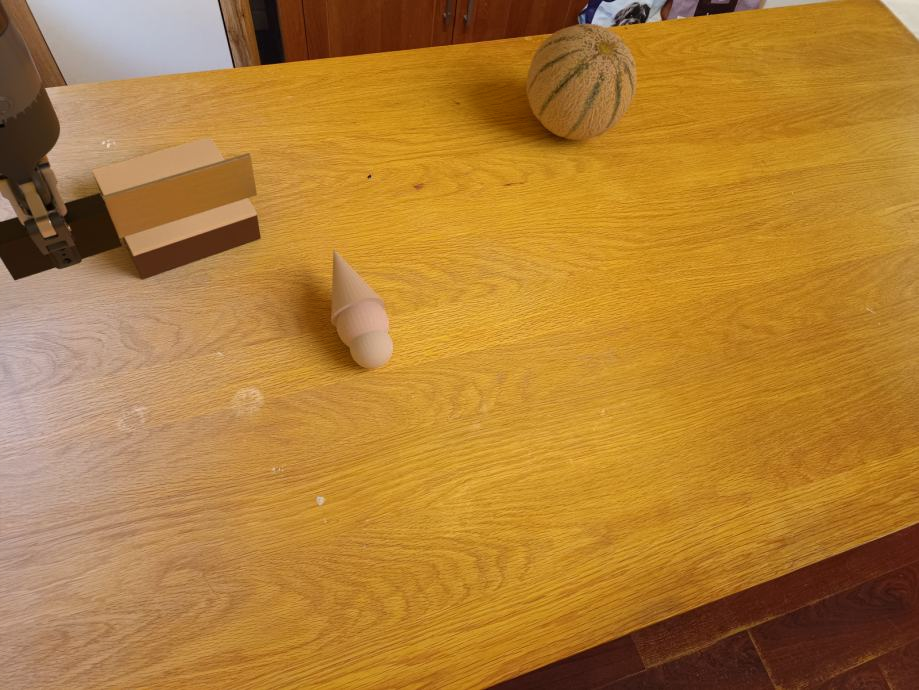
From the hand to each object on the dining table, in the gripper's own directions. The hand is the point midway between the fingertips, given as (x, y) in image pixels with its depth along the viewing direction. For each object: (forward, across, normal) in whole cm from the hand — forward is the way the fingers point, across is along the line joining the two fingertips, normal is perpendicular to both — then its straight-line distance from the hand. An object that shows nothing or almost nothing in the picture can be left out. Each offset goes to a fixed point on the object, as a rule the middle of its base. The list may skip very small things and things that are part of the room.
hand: (64, 251), depth 64 cm
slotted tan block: (+16, -15, +12) cm, 25 cm away
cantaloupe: (+16, -10, +66) cm, 69 cm away
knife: (0, 0, +7) cm, 7 cm away
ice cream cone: (+16, +8, +24) cm, 30 cm away
